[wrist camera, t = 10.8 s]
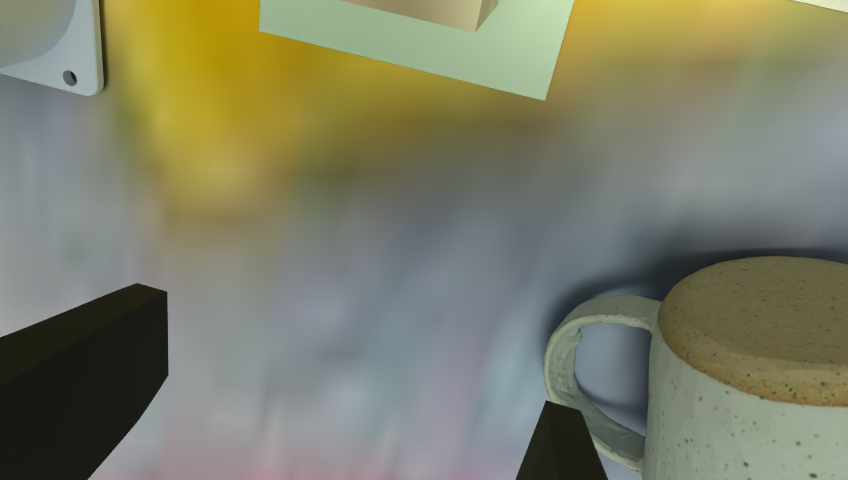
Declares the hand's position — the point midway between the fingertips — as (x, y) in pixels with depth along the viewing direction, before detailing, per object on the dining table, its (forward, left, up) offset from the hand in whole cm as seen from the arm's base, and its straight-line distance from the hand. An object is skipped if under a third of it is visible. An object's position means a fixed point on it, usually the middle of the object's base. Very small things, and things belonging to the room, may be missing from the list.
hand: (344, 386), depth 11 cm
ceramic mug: (+10, -4, -11) cm, 15 cm away
